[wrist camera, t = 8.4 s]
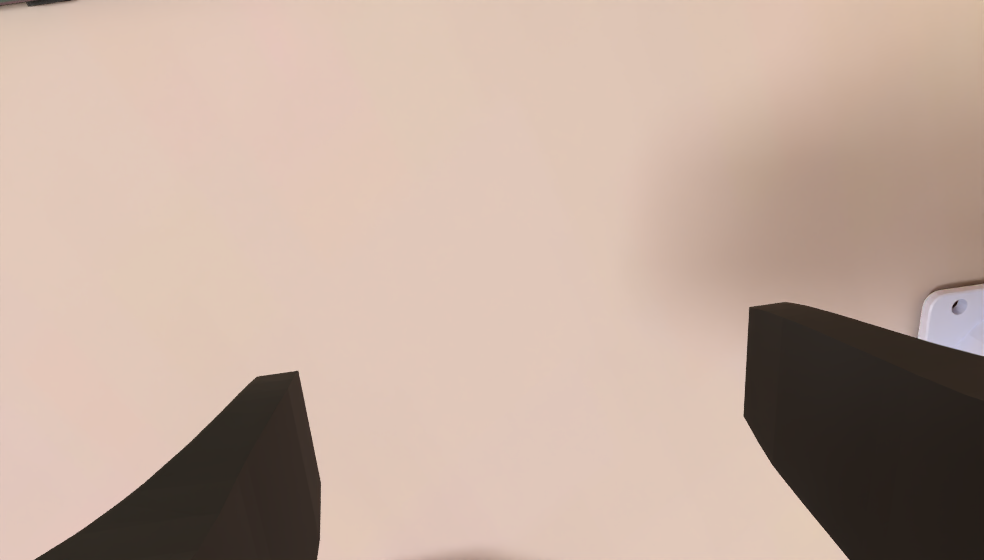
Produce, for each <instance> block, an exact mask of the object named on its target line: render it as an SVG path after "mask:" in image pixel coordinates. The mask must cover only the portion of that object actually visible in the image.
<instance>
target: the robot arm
mask: <svg viewBox="0 0 984 560" xmlns="http://www.w3.org/2000/svg"><path fill="white" fill-rule="evenodd" d="M957 300H958V303H957V305H956V306H955V307H954V308H952V306H953V304H954V303H955V302H956V301H957ZM744 418H745V419H746V421H747V423H748V425H749V426H750V428H751V430H752V432H753V434H754V435H755V437H756V439H757V441H758V442H759V444H760V446H761V447H762V449H763V450H764V452H765V454H766V455H767V457H768V459H769V460H770V462H771V463H772V465H773V466H774V468H775V469H776V470H777V471H778V473H779V474H780V475H781V477H782V478H783V479H784V480H785V482H786V483H787V484H788V485H789V486H790V488H791V489H792V490H793V491H794V493H795V494H796V495H797V496H798V498H799V499H800V500H801V501H802V503H803V504H804V505H805V506H806V508H807V509H808V510H809V511H810V512H811V514H812V515H813V516H814V517H815V518H816V520H817V521H818V522H819V523H820V525H821V526H822V527H823V528H824V529H825V531H826V532H827V533H828V534H829V535H830V537H831V538H832V539H833V540H834V542H835V543H836V544H837V545H838V546H839V548H840V549H841V550H842V551H843V552H844V554H845V555H846V556H847V557H848V559H849V560H984V284H978V285H971V286H964V287H957V288H950V289H943V290H938V291H935V292H933V293H931V294H930V295H929V296H928V297H927V298H926V299H925V301H924V303H923V306H922V312H921V319H920V325H919V332H918V338H914V337H911V336H908V335H904V334H901V333H898V332H894V331H891V330H888V329H884V328H881V327H878V326H875V325H871V324H868V323H865V322H861V321H858V320H855V319H852V318H848V317H845V316H842V315H838V314H835V313H831V312H828V311H824V310H820V309H817V308H813V307H809V306H805V305H800V304H794V303H788V302H782V303H775V304H768V305H761V306H754V307H749V325H748V343H747V362H746V381H745V400H744ZM320 506H321V481H320V477H319V472H318V467H317V462H316V457H315V452H314V447H313V442H312V437H311V432H310V427H309V422H308V417H307V412H306V407H305V402H304V397H303V392H302V387H301V382H300V377H299V372H298V371H294V372H287V373H280V374H273V375H266V376H259V377H256V378H255V379H254V380H253V381H252V382H251V383H250V384H248V385H247V386H246V387H245V388H244V389H243V390H242V391H241V392H240V393H239V394H238V395H237V396H236V397H235V398H234V399H233V400H232V401H231V403H230V404H229V405H228V406H227V407H226V408H225V409H224V410H223V411H222V412H221V413H220V414H219V415H218V416H217V417H216V418H215V419H214V420H213V421H212V422H211V423H210V424H208V425H207V426H206V427H205V428H204V429H203V430H202V431H201V432H200V433H199V434H198V435H197V436H196V437H195V438H194V439H193V440H192V441H191V442H190V443H189V444H188V445H187V446H186V447H185V448H183V449H182V450H181V451H180V452H179V453H178V454H177V455H176V456H174V457H173V458H172V459H171V460H170V461H169V462H168V463H166V464H165V465H164V466H163V467H162V468H161V469H160V470H159V471H157V472H156V473H155V474H154V475H153V476H152V477H151V478H150V479H148V480H147V481H146V482H145V483H144V484H142V485H141V486H140V487H139V488H138V489H136V490H135V491H134V492H133V493H131V494H130V495H129V496H127V497H126V498H125V499H124V500H122V501H121V502H120V503H118V504H117V505H116V506H114V507H113V508H112V509H110V510H109V511H107V512H106V513H105V514H103V515H102V516H100V517H99V518H98V519H96V520H95V521H94V522H92V523H91V524H89V525H88V526H87V527H85V528H84V529H82V530H81V531H79V532H78V533H76V534H75V535H73V536H72V537H70V538H69V539H67V540H65V541H64V542H62V543H61V544H59V545H57V546H56V547H54V548H53V549H51V550H49V551H48V552H46V553H44V554H43V555H41V556H40V557H38V558H36V559H35V560H317V555H318V548H319V541H320Z"/></svg>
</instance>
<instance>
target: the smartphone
mask: <svg viewBox="0 0 984 560" xmlns="http://www.w3.org/2000/svg"><path fill="white" fill-rule="evenodd" d="M62 1H69V0H0V6H2V5H9V4H16V3H23V2H27V5H28V6H35V5H41V4H48V3H55V2H62Z"/></svg>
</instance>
